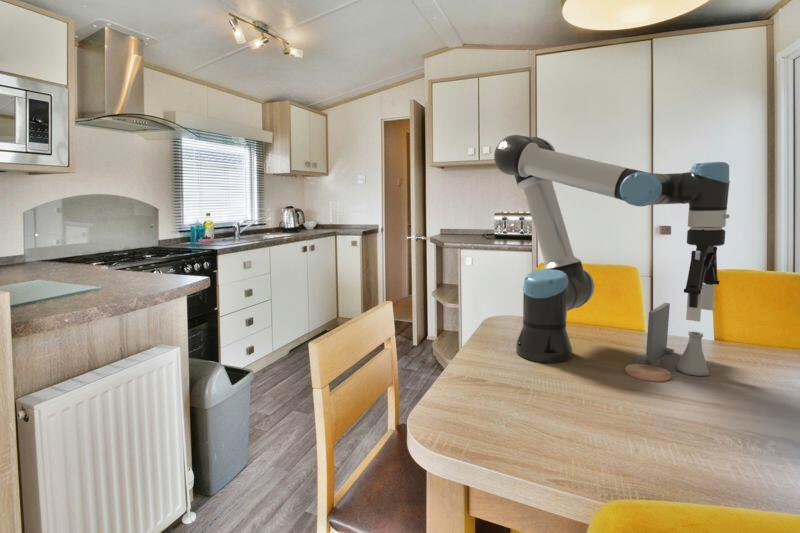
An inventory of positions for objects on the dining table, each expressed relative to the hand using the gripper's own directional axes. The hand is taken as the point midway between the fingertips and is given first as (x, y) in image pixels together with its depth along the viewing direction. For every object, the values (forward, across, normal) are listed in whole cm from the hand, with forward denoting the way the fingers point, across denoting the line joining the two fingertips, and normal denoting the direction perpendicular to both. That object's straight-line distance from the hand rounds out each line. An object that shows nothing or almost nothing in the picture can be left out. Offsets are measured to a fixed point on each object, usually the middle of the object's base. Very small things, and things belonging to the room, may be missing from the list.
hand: (700, 314), depth 109 cm
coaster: (+15, -9, +8) cm, 19 cm away
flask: (+15, 0, +1) cm, 15 cm away
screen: (+15, +5, +10) cm, 19 cm away
